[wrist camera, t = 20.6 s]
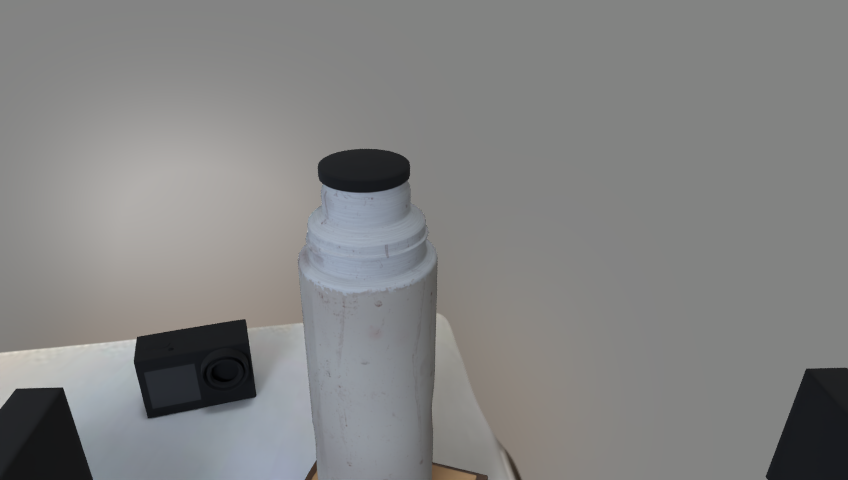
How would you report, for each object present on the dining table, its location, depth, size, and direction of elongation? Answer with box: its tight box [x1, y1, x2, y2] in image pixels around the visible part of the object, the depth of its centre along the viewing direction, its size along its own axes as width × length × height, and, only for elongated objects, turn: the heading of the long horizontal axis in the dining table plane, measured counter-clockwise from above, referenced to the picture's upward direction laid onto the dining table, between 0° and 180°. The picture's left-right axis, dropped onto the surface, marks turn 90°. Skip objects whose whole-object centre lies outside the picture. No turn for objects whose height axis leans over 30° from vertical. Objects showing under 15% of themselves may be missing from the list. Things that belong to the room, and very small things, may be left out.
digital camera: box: [134, 319, 256, 418], centre depth 61 cm, size 10×5×7 cm, turn 108°
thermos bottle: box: [298, 149, 437, 480], centre depth 39 cm, size 8×8×28 cm
